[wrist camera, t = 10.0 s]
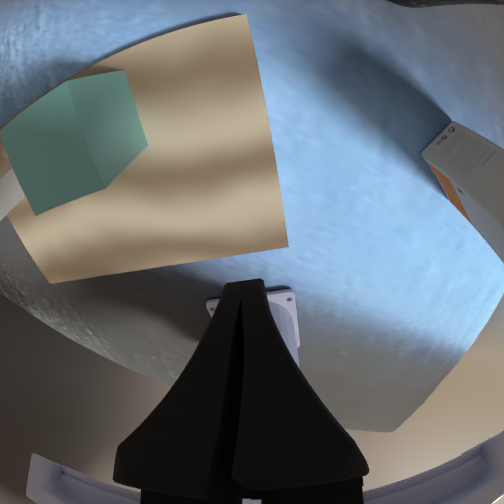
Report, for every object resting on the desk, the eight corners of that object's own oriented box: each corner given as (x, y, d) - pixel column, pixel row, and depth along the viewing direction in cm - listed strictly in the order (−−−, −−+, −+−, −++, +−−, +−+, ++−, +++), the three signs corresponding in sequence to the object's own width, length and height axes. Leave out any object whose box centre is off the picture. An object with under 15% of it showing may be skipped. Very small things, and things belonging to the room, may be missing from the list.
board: (287, 240, 21) (288, 247, 20) (53, 278, 24) (50, 283, 23) (246, 16, 11) (246, 13, 10) (-17, 145, 14) (-22, 149, 13)
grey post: (32, 189, 16) (-4, 225, 12) (16, 198, 17) (-18, 232, 13) (20, 162, 15) (-20, 194, 11) (5, 173, 15) (-32, 204, 11)
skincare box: (417, 153, 16) (532, 262, 7) (451, 118, 14) (577, 203, 5) (448, 203, 19) (532, 308, 9) (478, 172, 17) (571, 264, 7)
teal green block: (148, 145, 15) (106, 188, 11) (85, 169, 16) (35, 216, 11) (124, 70, 12) (66, 81, 7) (60, 103, 13) (-2, 132, 8)
